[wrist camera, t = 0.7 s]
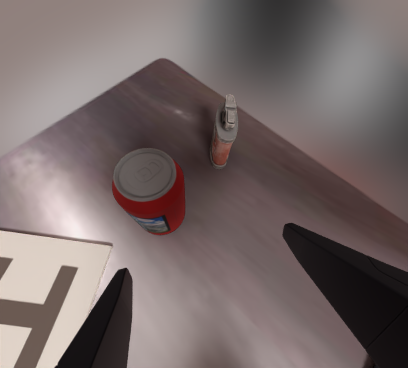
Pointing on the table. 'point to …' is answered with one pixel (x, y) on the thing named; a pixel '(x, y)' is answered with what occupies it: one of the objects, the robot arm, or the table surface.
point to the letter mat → (44, 295)
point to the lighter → (224, 132)
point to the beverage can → (150, 189)
